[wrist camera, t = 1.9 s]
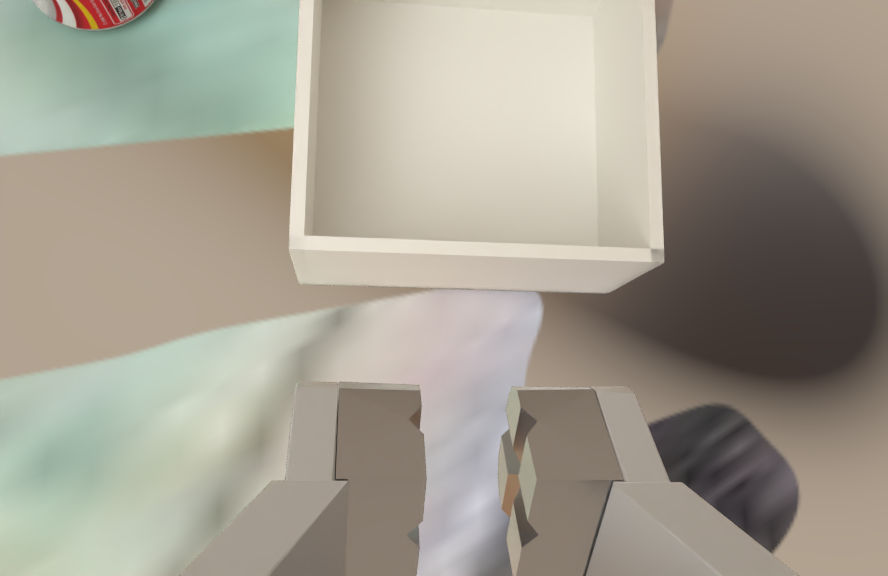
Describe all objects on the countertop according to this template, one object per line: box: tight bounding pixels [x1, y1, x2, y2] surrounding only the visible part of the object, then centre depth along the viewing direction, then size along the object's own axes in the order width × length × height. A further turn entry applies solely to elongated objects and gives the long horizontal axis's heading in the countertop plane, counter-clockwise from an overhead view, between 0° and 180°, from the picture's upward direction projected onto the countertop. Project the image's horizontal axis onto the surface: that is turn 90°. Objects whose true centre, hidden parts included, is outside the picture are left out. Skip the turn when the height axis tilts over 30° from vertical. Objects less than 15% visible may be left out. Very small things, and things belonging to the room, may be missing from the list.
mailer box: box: [289, 0, 664, 294], centre depth 41 cm, size 16×16×8 cm
